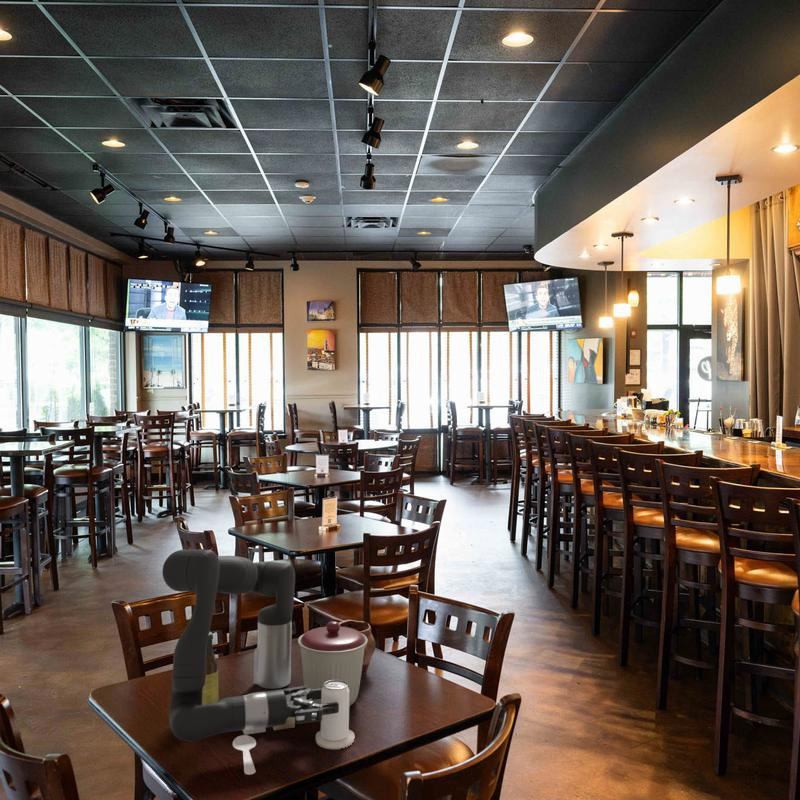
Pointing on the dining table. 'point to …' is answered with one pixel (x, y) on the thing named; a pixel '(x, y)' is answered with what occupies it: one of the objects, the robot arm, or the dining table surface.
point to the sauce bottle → (210, 676)
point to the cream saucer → (335, 745)
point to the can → (337, 723)
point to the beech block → (286, 724)
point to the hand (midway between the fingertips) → (332, 699)
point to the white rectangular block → (253, 731)
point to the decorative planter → (366, 630)
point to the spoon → (246, 751)
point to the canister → (332, 657)
